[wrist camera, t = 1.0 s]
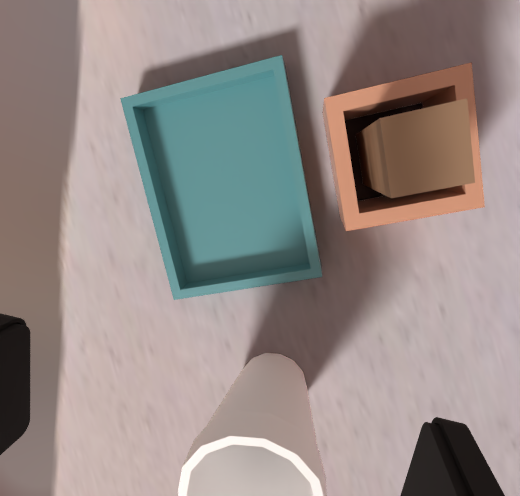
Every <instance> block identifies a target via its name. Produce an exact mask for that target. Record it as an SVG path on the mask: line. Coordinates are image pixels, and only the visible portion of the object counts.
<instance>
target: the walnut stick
mask: <svg viewBox="0 0 520 496" xmlns="http://www.w3.org/2000/svg"><path fill="white" fill-rule="evenodd" d="M355 136H356V142H357V149H358V155H359V162H360V168H361V175H362V182H363V185H365V186H367V187H369V188H371V189H373V190H375V191H377V192H379V193H381V194H383V195H385V196H387V197H389V198H396V197H401V196H406V195H412V194H417V193H423V192H428V191H433V190H439V189H444V188H449V187H455V186H460V185H465V184H471V183H475V176H474V165H473V155H472V144H471V134H470V123H469V112H468V102H467V99H462V100H458V101H453V102H449V103H445V104H440V105H436V106H431V107H427V108H423V109H418V110H414V111H409V112H405V113H400V114H396V115H392V116H387V117H383V118H379V119H378V120H377V121H375V122H374V123H372V124H371V125H369V126H368V127H366V128H365V129H363V130H362V131H360V132H359V133H357V134H356V135H355Z"/></svg>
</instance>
